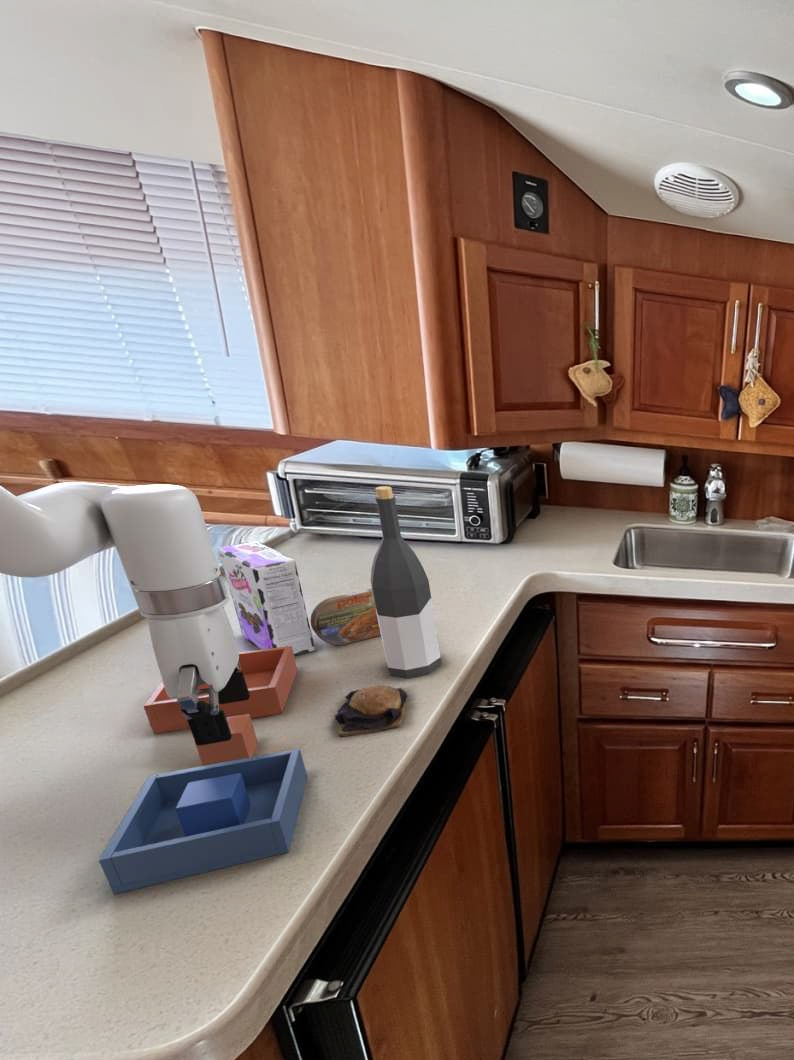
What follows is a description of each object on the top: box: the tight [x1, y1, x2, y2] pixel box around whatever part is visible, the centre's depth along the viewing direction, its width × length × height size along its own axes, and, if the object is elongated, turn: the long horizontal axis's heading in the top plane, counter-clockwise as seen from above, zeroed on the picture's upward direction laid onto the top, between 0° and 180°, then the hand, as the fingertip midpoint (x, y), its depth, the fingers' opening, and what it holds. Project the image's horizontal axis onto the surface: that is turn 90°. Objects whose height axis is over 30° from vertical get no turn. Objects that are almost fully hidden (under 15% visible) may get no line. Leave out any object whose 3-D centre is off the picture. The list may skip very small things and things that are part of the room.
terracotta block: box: [193, 714, 259, 766], centre depth 80 cm, size 4×4×4 cm
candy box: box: [217, 540, 316, 657], centre depth 105 cm, size 14×6×16 cm, turn 57°
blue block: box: [175, 773, 251, 837], centre depth 69 cm, size 4×4×4 cm
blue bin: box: [98, 748, 308, 895], centre depth 69 cm, size 14×14×4 cm
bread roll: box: [334, 684, 408, 737], centre depth 91 cm, size 11×8×4 cm
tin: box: [310, 587, 381, 646], centre depth 112 cm, size 15×3×8 cm, turn 141°
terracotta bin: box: [143, 646, 299, 734], centre depth 92 cm, size 14×14×4 cm
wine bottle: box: [370, 485, 442, 679], centre depth 99 cm, size 8×8×30 cm
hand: (225, 720), depth 79 cm, fingers open, 9 cm apart
